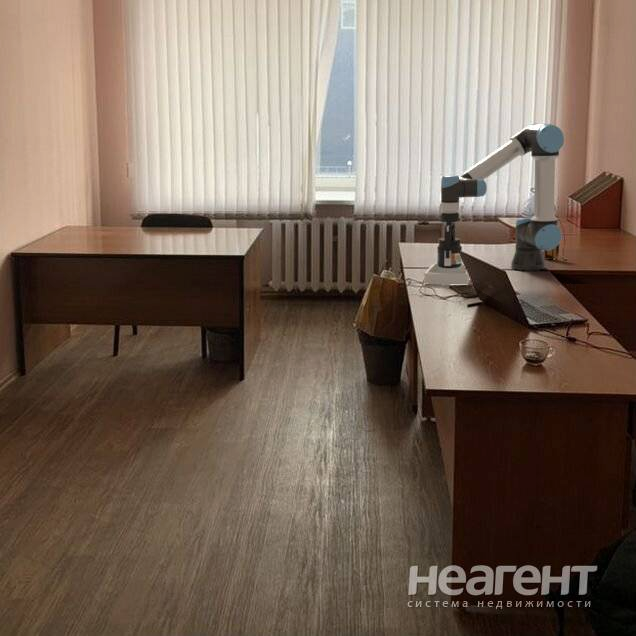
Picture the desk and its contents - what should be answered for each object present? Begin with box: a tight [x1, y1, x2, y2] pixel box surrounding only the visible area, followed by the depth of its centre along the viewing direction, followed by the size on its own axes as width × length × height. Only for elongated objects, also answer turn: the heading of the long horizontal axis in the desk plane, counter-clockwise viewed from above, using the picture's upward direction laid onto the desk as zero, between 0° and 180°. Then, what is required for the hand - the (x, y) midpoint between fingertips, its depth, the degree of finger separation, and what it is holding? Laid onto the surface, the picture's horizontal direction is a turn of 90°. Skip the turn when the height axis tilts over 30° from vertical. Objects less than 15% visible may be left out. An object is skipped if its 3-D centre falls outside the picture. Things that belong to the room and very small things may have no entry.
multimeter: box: [542, 218, 566, 261], centre depth 480 cm, size 15×10×20 cm
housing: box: [423, 263, 470, 286], centre depth 434 cm, size 24×18×5 cm
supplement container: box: [436, 237, 463, 268], centre depth 432 cm, size 10×10×12 cm
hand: (449, 263), depth 433 cm, fingers closed on supplement container, 10 cm apart
